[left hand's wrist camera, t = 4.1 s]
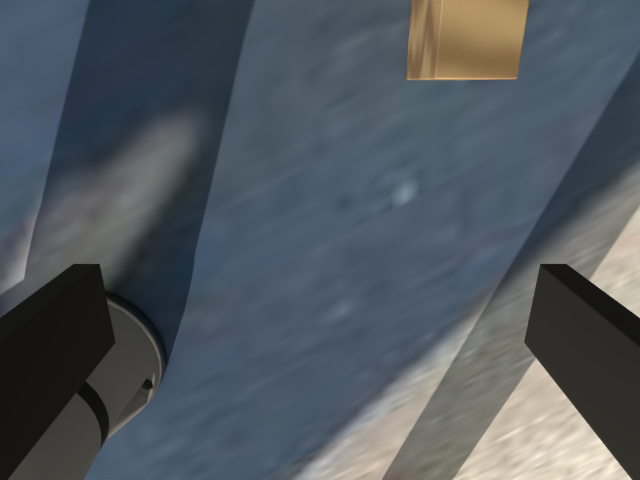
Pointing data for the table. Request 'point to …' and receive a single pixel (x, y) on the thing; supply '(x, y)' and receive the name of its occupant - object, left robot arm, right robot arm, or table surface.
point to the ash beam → (465, 39)
